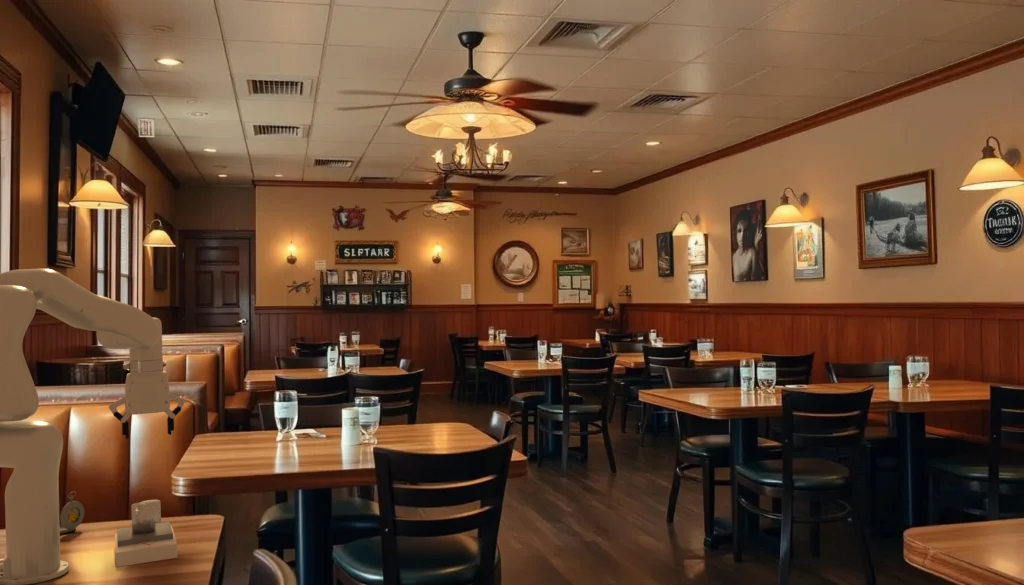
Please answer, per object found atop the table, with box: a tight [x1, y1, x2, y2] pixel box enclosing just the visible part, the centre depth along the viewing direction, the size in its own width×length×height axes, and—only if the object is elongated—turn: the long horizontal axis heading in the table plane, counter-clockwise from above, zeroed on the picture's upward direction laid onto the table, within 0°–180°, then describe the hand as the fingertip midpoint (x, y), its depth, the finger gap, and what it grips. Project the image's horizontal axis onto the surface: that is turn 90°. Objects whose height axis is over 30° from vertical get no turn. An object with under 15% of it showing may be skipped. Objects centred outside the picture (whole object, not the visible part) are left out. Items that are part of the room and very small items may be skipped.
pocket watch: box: [59, 490, 85, 535], centre depth 198 cm, size 8×8×10 cm
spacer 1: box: [130, 501, 156, 534], centre depth 182 cm, size 5×5×6 cm
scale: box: [114, 521, 178, 568], centre depth 180 cm, size 12×16×4 cm
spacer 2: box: [141, 499, 162, 524], centre depth 201 cm, size 5×5×6 cm
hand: (148, 435), depth 201 cm, fingers open, 9 cm apart
